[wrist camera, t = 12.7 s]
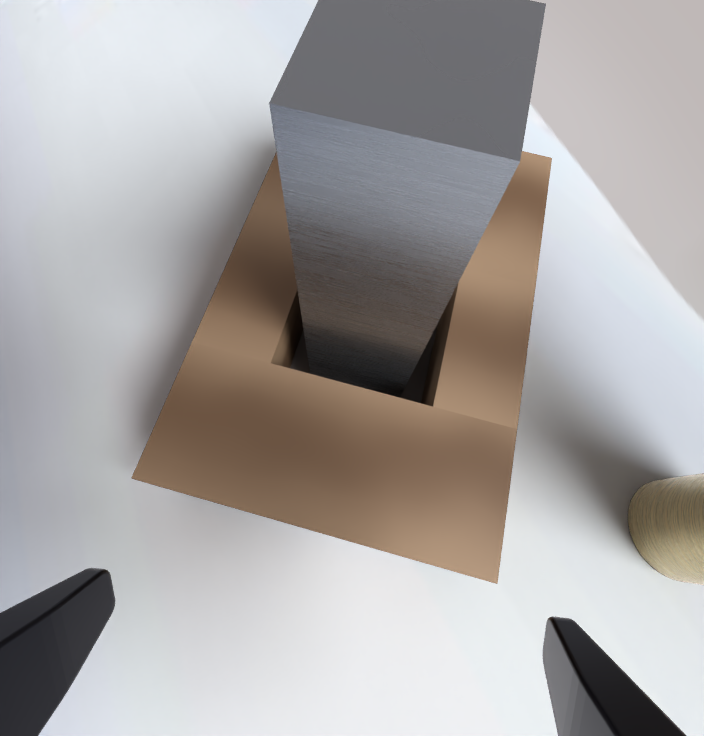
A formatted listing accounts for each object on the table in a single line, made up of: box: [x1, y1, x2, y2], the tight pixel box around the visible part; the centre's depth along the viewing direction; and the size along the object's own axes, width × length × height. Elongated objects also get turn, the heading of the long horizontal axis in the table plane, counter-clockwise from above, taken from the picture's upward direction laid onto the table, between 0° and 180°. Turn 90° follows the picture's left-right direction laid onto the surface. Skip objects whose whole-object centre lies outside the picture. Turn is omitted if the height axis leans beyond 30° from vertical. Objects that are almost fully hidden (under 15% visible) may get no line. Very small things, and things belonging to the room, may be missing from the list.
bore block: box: [132, 151, 552, 584], centre depth 18 cm, size 18×12×4 cm, turn 165°
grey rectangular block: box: [269, 0, 546, 398], centre depth 13 cm, size 4×4×13 cm
